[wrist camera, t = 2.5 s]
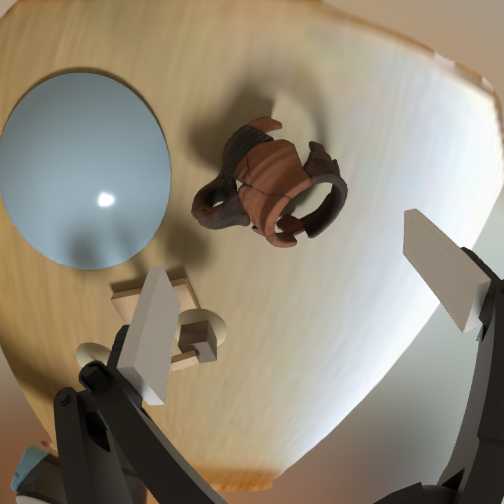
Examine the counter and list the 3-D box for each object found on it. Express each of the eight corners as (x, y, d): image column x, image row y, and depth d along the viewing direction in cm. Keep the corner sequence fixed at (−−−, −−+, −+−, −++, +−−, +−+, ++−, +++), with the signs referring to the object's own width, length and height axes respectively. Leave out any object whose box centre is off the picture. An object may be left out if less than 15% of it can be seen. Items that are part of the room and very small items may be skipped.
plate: (46, 282, 30) (45, 284, 30) (-20, 129, 20) (-23, 130, 19) (199, 242, 29) (199, 244, 28) (136, 36, 19) (134, 35, 18)
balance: (110, 328, 34) (85, 403, 24) (90, 298, 31) (55, 373, 22) (231, 306, 33) (234, 393, 23) (218, 269, 31) (216, 357, 21)
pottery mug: (296, 95, 23) (361, 144, 18) (303, 173, 31) (351, 227, 26) (161, 152, 22) (194, 222, 17) (198, 224, 30) (231, 291, 25)
